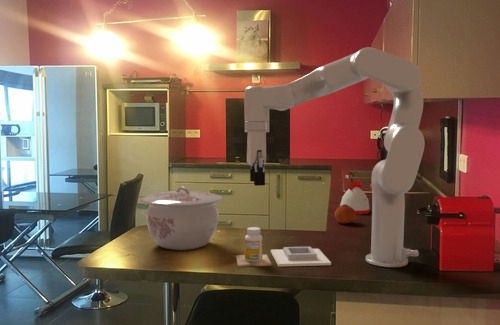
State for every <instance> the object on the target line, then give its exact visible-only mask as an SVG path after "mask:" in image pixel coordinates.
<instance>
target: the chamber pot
mask: <svg viewBox="0 0 500 325" xmlns="http://www.w3.org/2000/svg"><path fill="white" fill-rule="evenodd" d="M222 200H223V197H222V196H221V195H219V194H216V193H213V192H208V191H202V190H189V189H188V188H187V187H185V186H183V185H181V186H178V187H177V189H176V190H167V191H161V192H160V191H159V192H155V193H151V194H148V195H145V196H144V197H142V198H141V201H142V202H143V203H144V204H148V205H149V206H148V207H149V208H147V211H146V213H145V214H146V216H145V217H146V223H147V224H146V225H147V228H148V232H149V234H150V235H151V237H152V238H153V240H154V242H155V243H156V244H157V245H158V246H159V247H161V248H164V249H167V250H171V251H192V250H196V249H199V248H202V247H204V246H206V245H208V243H209V242H210V241H211V239H212V238H213V236H214V235H215V233H216V231H217V228H218V221H219V210H218V208H217V206H216V204H217V203H220V202H221V201H222Z"/></svg>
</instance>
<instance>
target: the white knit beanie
mask: <svg viewBox="0 0 500 325" xmlns="http://www.w3.org/2000/svg"><path fill="white" fill-rule="evenodd" d="M362 185H363V182H361V180H360V179H359V180H357V179H355V180H354V179H353V181H352V182H351V183H350V185H348V189H347V190H346V191H345V193H344V194H343V195H342V196H341V201H340V204H339V207H340V206H341V205H343V204H346V205H348V206H350V207H352V208H353V209H354V210H355V212H356V215H366V214H369V213H370V203H369V202H370V201H369V198H368V197H367V195H366V193H365V191H363V189H361V188H362Z"/></svg>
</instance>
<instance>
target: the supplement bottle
mask: <svg viewBox="0 0 500 325" xmlns="http://www.w3.org/2000/svg"><path fill="white" fill-rule="evenodd" d="M246 232H247V234H246V235H245V236H244V255H245V260H247V261H251V262H257V261H261V260H262V255H263V236H262V235H261V228H260V227H257V226H252V227H251V226H250V227H247V229H246Z"/></svg>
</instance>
